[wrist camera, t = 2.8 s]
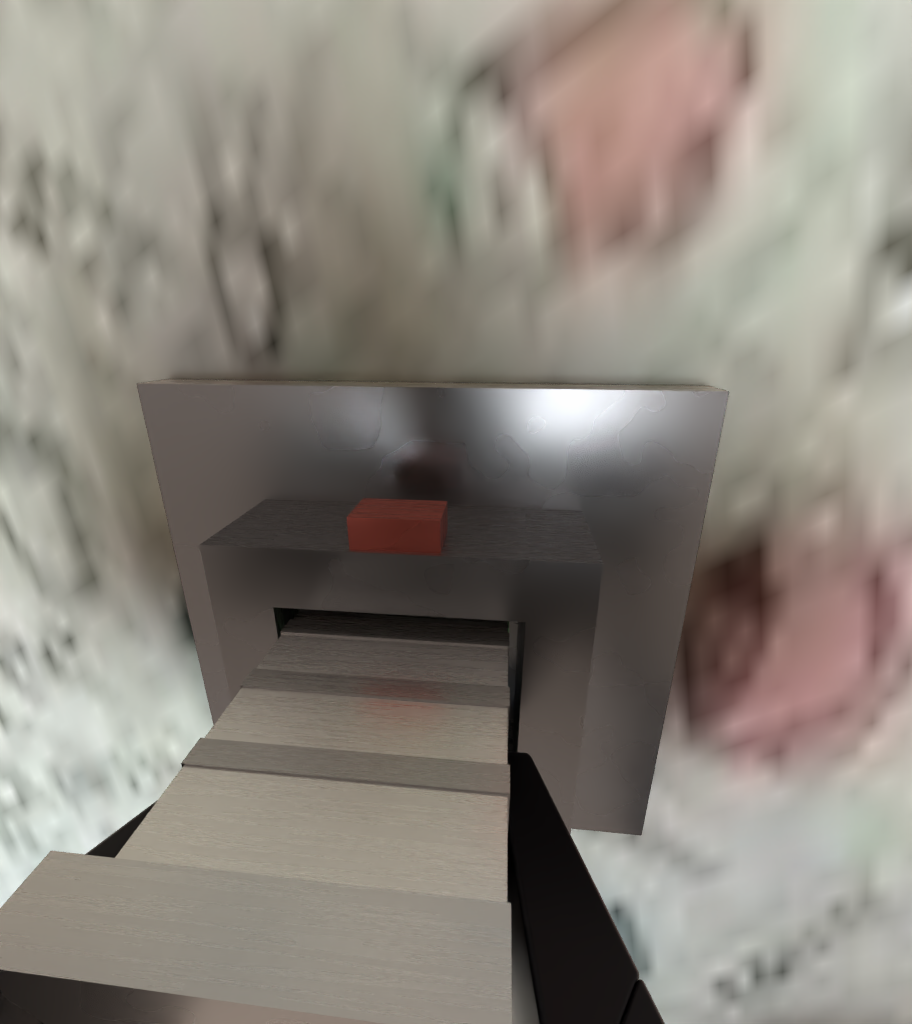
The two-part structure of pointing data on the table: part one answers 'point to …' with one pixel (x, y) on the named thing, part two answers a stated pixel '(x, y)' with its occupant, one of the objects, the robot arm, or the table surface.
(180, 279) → the table surface
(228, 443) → the stand base
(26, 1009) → the grey slab
